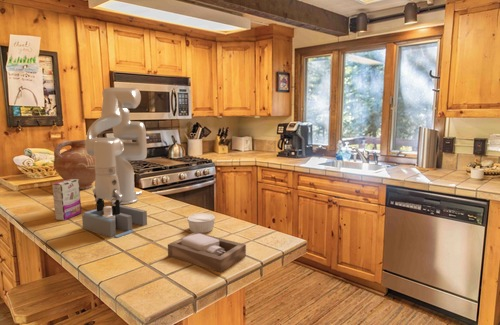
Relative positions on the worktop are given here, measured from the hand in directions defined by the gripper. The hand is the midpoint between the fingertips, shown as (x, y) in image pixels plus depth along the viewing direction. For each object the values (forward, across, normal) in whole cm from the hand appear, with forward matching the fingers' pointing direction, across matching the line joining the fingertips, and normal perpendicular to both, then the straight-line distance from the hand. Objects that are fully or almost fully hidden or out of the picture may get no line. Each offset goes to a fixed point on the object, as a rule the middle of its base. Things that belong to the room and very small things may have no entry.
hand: (108, 212), depth 135 cm
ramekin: (+7, -31, -20) cm, 38 cm away
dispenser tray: (+7, -49, -2) cm, 50 cm away
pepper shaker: (+7, 0, 0) cm, 7 cm away
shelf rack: (+7, 0, -4) cm, 8 cm away
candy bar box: (+8, +30, 0) cm, 31 cm away
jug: (+9, +79, -38) cm, 88 cm away
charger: (+6, -49, -1) cm, 50 cm away
